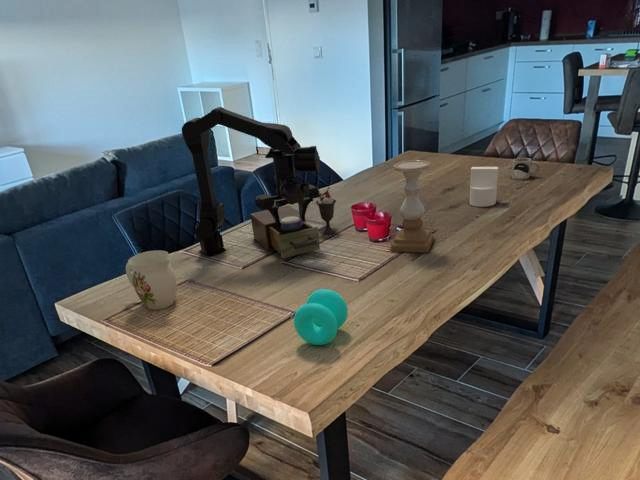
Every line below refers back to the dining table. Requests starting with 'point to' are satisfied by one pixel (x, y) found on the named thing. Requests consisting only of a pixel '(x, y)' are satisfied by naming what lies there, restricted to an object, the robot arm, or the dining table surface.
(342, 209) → the dining table surface
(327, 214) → the sundae
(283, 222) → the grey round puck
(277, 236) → the drawer
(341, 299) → the teal spool
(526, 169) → the mug
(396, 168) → the candle holder
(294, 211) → the cabinet
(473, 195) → the cylinder with rectangular tab
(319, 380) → the dining table surface
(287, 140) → the robot arm
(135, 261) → the pitcher
